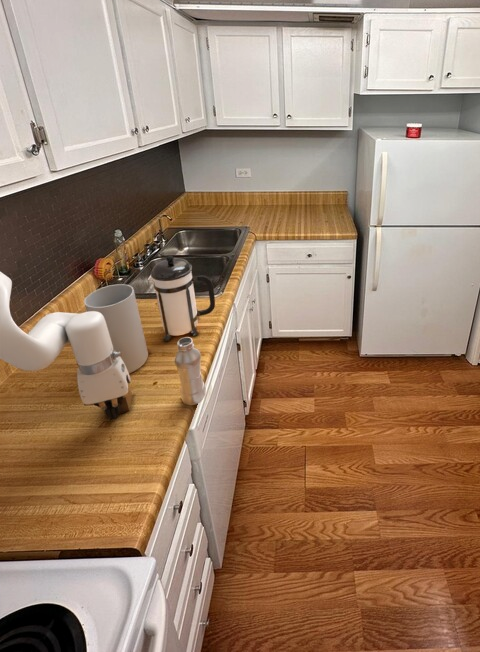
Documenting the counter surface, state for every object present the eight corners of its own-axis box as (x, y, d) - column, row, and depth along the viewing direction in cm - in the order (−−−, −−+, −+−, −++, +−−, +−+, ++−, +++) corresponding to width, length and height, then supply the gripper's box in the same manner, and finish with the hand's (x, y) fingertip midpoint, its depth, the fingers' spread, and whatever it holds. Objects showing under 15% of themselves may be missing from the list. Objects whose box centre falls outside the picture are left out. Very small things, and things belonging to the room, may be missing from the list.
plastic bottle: (188, 388, 96) (178, 332, 89) (210, 390, 96) (202, 334, 88) (177, 407, 90) (165, 349, 83) (201, 409, 90) (191, 351, 82)
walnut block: (108, 416, 88) (104, 402, 86) (112, 401, 92) (108, 388, 90) (129, 411, 89) (125, 397, 87) (132, 396, 94) (128, 383, 92)
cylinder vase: (129, 344, 113) (113, 281, 104) (157, 354, 109) (143, 288, 100) (94, 370, 102) (73, 302, 93) (124, 382, 98) (105, 311, 89)
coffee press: (179, 350, 111) (165, 271, 100) (150, 333, 119) (134, 258, 108) (219, 323, 125) (210, 251, 114) (190, 309, 132) (180, 241, 121)
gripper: (134, 343, 85) (147, 396, 92) (65, 357, 81) (85, 412, 87) (129, 363, 79) (144, 418, 85) (54, 380, 74) (77, 437, 81)
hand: (114, 415), depth 86 cm, fingers closed
